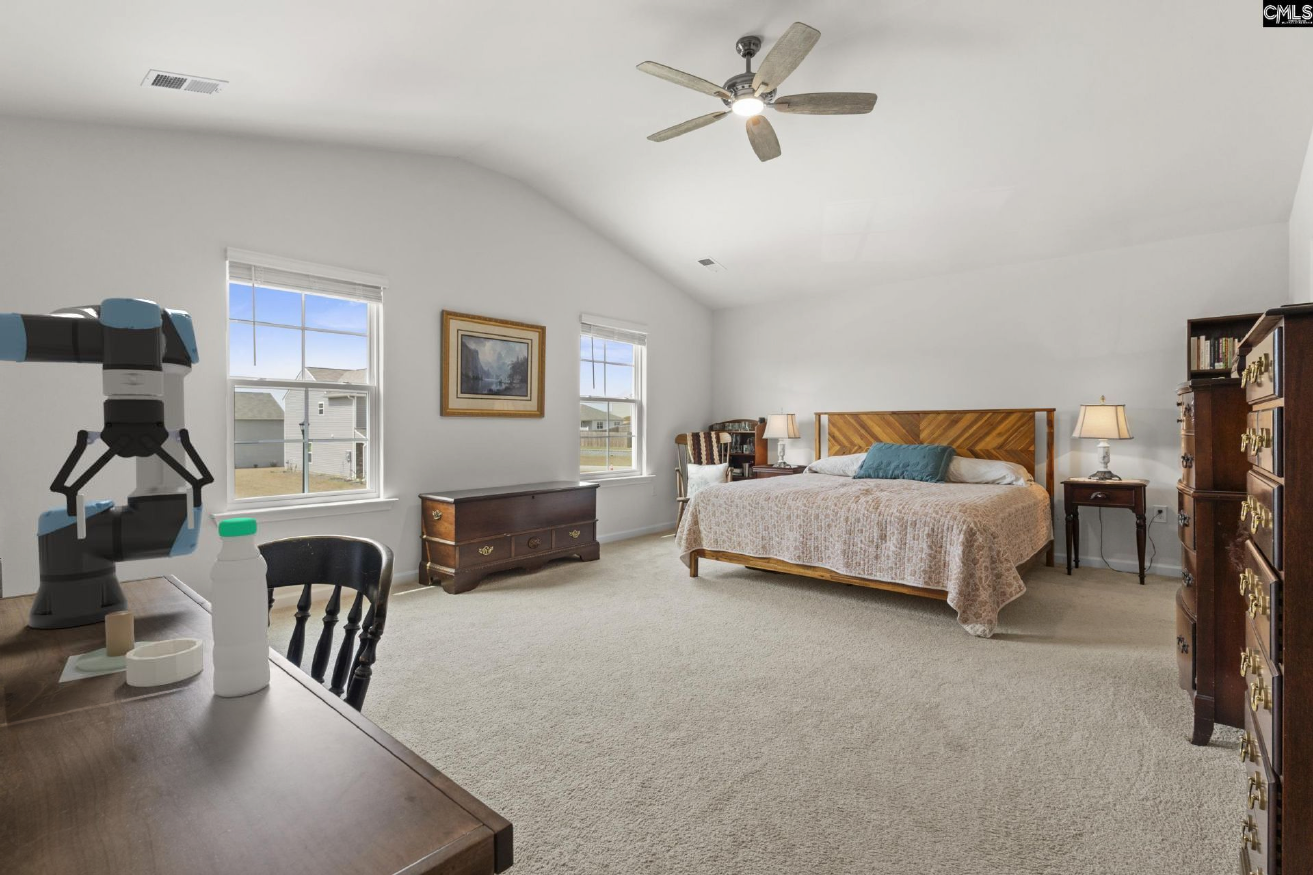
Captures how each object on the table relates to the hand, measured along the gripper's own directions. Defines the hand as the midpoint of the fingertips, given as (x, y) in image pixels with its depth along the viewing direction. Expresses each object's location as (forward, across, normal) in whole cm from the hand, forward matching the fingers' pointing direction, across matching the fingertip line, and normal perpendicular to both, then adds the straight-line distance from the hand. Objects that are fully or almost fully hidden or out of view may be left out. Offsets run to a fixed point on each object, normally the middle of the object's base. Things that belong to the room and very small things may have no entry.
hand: (138, 532), depth 105 cm
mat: (+22, -3, +6) cm, 23 cm away
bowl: (+22, +3, -7) cm, 23 cm away
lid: (+21, -3, +6) cm, 23 cm away
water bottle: (+22, +12, -20) cm, 32 cm away
